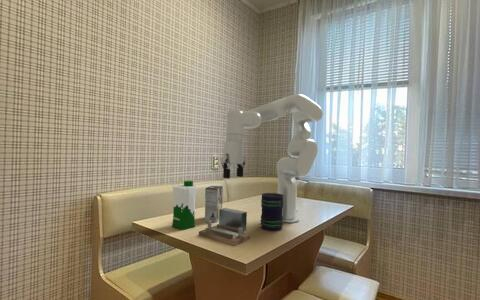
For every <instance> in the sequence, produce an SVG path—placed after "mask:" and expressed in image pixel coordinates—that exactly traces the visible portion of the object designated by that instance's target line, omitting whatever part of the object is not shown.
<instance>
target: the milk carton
mask: <svg viewBox="0 0 480 300" xmlns="http://www.w3.org/2000/svg"><path fill="white" fill-rule="evenodd" d="M197 188H198V186H197V185H194V181H193V180H184V181H183V184H179V185H174V186H172V192H173V211H172V212H173V216H172V228H175V229H178V230H181V231H184V230H187V229H192V228H195V227H196V219H195V217H196V216H195V214H196V213H195V211H196V209H195V207H196V193H197Z"/></svg>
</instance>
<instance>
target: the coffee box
mask: <svg viewBox="0 0 480 300" xmlns="http://www.w3.org/2000/svg"><path fill="white" fill-rule="evenodd" d="M223 187H224V186H223V185H218V186H217V185H210V186H207V187H205V196H204V222H208V220H211V221H212V222H213V223H219V209H223V196H224V195H223V191H224V190H223V189H224V188H223ZM212 222H211V223H212Z"/></svg>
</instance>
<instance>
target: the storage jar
mask: <svg viewBox="0 0 480 300" xmlns="http://www.w3.org/2000/svg"><path fill="white" fill-rule="evenodd" d="M260 205H261V215H260V229H261V230H263V231H267V232H280V231H282V230H283V225H284V222H283V216H282V208H283V195H282V194H278V192H277V193H275V192H265V193H262V194H261V202H260Z"/></svg>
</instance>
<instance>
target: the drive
mask: <svg viewBox="0 0 480 300" xmlns="http://www.w3.org/2000/svg"><path fill="white" fill-rule="evenodd" d="M247 214H248V212H247V211H243V210H239V209H233V208H227V207H222V209H219V221H218V224H220V225H224V226H228V227H232V228H236V229H238V228H240V227H241V228H243V232H246V231H247V216H248V215H247Z"/></svg>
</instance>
